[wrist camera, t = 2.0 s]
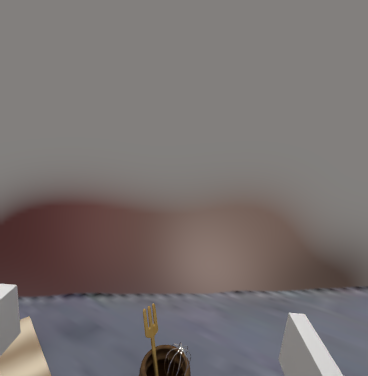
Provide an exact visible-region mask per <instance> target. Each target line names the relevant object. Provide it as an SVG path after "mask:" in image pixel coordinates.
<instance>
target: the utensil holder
mask: <svg viewBox="0 0 368 376" xmlns="http://www.w3.org/2000/svg"><path fill="white" fill-rule="evenodd" d="M152 309H153V319H154V324H153V323H152V316H151V308H150V306H148V317H149V328H148V323H147V316H146V309H143V317H144V327H145V336H146V337H147V338H151V345H152V349H151V350H150V351H149V352H148V353H147V354H146V355H145V357H144V359H143V361H142V364H141V368H140V374H139V376H190V365H189V364H190V362H189V361H188V358H187V357H186V355H185V353H183V352H184V351H183V352H182V348H183V347H182V343H181V342H180V343H181V347H180V344H179V345H178V346H179V347H180V348H177V347H175V346H171V345H160V346H157V347H155V340H154V336H155V334H156V333H157V331H158V325H157V317H156V309H155V304H152ZM173 345H174V344H173ZM176 345H177V344H176ZM184 347H185V346H184ZM184 350H186V349H184ZM187 350H188V346H187ZM187 350H186V351H187ZM188 352H189V351H188ZM186 354H187V352H186ZM190 356H191V354H190ZM190 360H191V358H190Z"/></svg>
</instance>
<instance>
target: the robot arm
mask: <svg viewBox="0 0 368 376" xmlns="http://www.w3.org/2000/svg"><path fill="white" fill-rule="evenodd" d="M17 293H18V292H17V285H9V284H0V356H1V355H2V354H3V353H4V351H5V350H6V349H7V348H8V347H9V346H10V345H11V343H12V342H13V341H14V340H15V339H16V338H17V337H18V335H19V334H20V333H21V329H20V317H19V305H18V294H17ZM279 362H280V365H281V367H282V370H283V373H284V375H285V376H343V375H342V373H341V371H340V370H339V368H338V367H337V365H336V363H335V362H334V360H333V359H332V357H331V355H330V354H329V352H328V351H327V349H326V347H325V346H324V344H323V343H322V341H321V339H320V338H319V336H318V334H317V333H316V331H315V330H314V328H313V326H312V325H311V323H310V322H309V320H308V318H307V317H306V315H305V314H297V313H289V314H288V318H287V323H286V328H285V332H284V337H283V341H282V346H281V351H280V355H279Z"/></svg>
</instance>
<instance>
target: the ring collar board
mask: <svg viewBox="0 0 368 376" xmlns="http://www.w3.org/2000/svg"><path fill="white" fill-rule="evenodd" d="M20 329H21V333H20V334H19V335H18V337H17V338H16V339H15V340H14V341H13V342H12V343H11V345H10V346H9V347H8V348H7V349H6V350H5V351H4V353H3V354H2V355H1V356H0V376H51V374H50V371H49V368H48V366H47V363H46V360H45V357H44V355H43V352H42V349H41V347H40V344H39V341H38V338H37V336H36V333H35V330H34V327H33V325H32V322H31V319H30V316H29V317H26V318H24V319H21V320H20Z"/></svg>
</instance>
